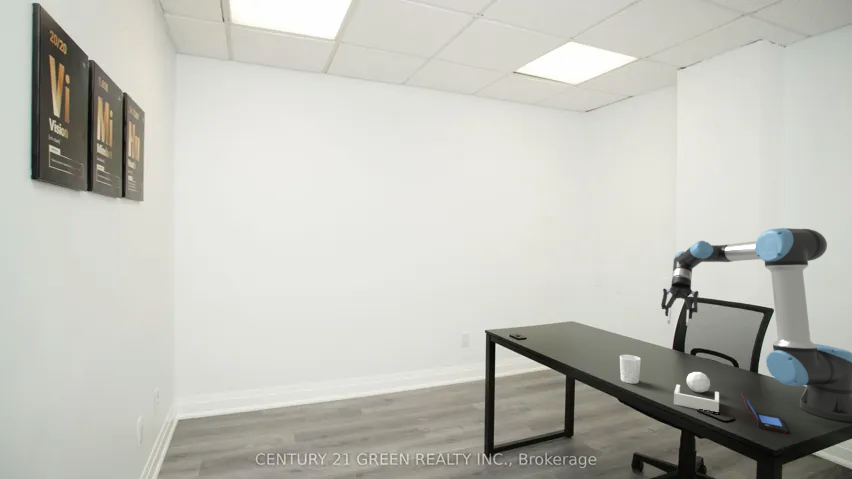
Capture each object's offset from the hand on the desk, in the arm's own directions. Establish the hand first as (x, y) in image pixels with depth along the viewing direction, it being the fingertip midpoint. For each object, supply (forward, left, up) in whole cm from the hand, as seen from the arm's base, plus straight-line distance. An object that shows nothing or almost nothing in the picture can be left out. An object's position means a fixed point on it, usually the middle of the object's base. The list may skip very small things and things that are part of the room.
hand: (677, 322), depth 177 cm
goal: (-19, +16, -24) cm, 35 cm away
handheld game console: (-37, +11, -25) cm, 46 cm away
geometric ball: (-12, +4, -25) cm, 28 cm away
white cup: (+7, +19, -25) cm, 32 cm away
